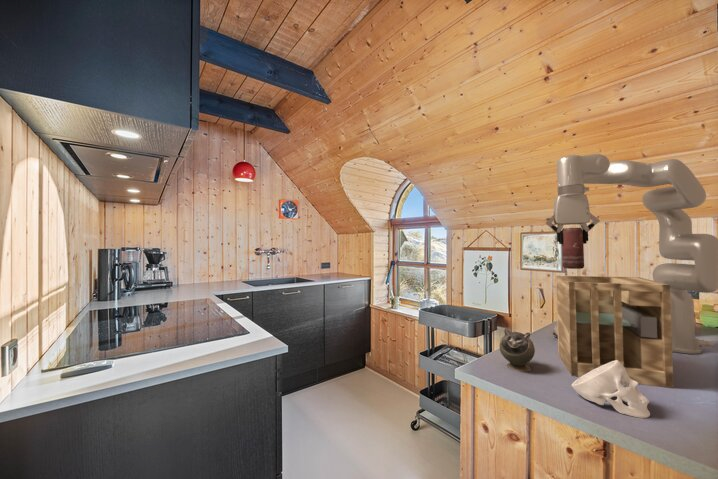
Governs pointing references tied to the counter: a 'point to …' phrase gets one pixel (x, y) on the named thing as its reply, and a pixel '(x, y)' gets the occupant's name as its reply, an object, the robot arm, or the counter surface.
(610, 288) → the zigzag grain wooden box
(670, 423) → the counter surface
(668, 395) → the counter surface
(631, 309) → the green chalkboard
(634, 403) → the skull bowl
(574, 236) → the can
